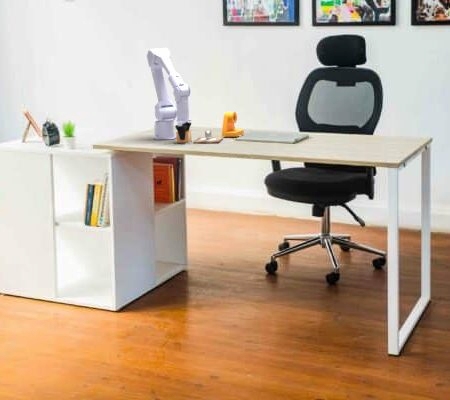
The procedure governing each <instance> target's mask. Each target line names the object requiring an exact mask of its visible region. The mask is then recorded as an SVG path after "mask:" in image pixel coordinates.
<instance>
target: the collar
mask: <svg viewBox="0 0 450 400" xmlns="http://www.w3.org/2000/svg"><path fill="white" fill-rule="evenodd" d="M175 133H176V134H175V136H177V137H176V143H177V144H181V143H182V144H184V143H185V144H188V143H190V142H191V141H192V130H190V129H189V130H186V133H185V140H180V138H179V134H178V131H176V132H175Z"/></svg>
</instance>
